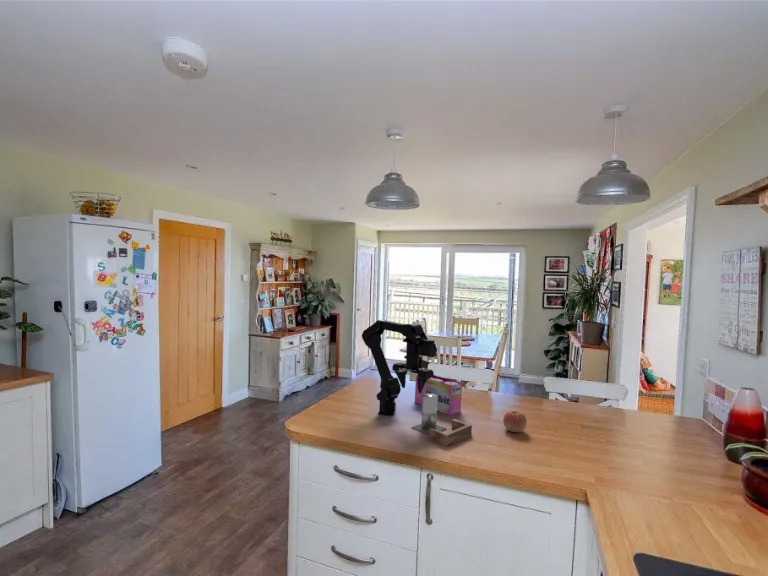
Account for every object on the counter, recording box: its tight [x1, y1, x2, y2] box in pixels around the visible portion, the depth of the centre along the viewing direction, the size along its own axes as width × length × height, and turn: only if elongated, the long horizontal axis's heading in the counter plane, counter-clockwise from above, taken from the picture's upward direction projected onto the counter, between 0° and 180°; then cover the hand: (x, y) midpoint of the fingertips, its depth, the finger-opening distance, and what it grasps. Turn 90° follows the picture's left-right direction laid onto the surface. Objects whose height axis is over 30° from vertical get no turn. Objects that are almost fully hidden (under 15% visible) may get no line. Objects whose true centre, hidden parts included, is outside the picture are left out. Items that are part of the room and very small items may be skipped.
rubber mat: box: [410, 423, 447, 436], centre depth 161 cm, size 10×10×1 cm
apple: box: [502, 410, 527, 433], centre depth 162 cm, size 9×9×8 cm
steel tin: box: [420, 394, 438, 430], centre depth 161 cm, size 6×6×13 cm
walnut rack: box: [428, 418, 473, 447], centre depth 154 cm, size 8×16×4 cm, turn 135°
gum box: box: [414, 374, 463, 416], centre depth 190 cm, size 24×8×14 cm, turn 41°
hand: (411, 390), depth 169 cm, fingers open, 9 cm apart
